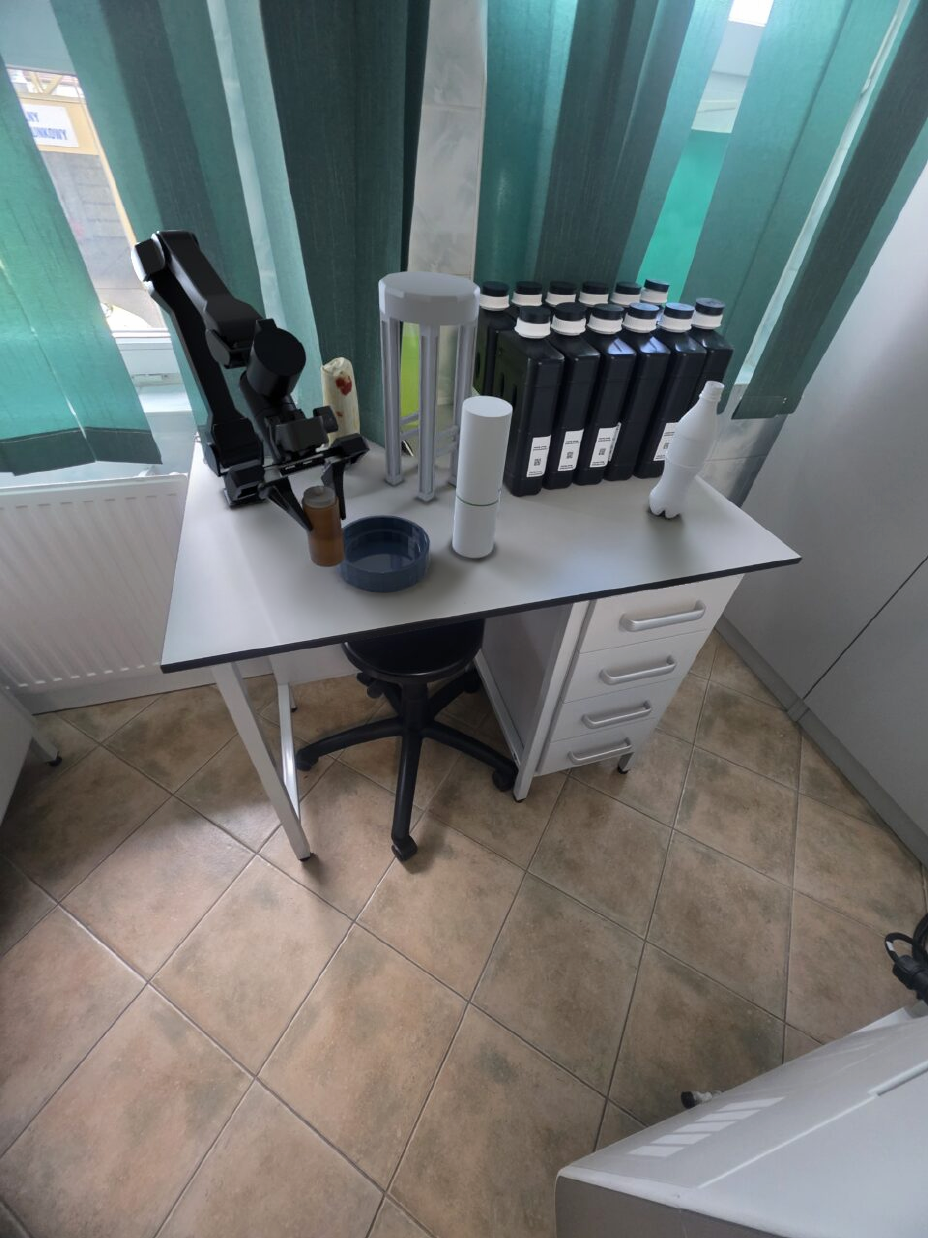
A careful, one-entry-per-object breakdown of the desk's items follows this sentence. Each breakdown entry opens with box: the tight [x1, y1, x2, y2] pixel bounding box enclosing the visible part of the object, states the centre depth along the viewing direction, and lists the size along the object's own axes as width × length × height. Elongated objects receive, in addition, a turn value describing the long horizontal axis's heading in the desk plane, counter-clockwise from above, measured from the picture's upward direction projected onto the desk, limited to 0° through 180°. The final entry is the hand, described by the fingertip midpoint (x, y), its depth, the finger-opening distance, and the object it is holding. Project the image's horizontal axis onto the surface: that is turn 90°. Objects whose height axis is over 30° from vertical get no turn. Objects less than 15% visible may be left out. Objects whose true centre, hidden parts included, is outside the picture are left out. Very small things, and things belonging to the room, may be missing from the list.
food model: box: [319, 356, 361, 468], centre depth 100 cm, size 10×7×20 cm
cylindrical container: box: [452, 395, 513, 559], centre depth 81 cm, size 7×7×25 cm
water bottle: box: [648, 380, 725, 519], centre depth 94 cm, size 7×7×25 cm
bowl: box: [336, 514, 431, 593], centre depth 83 cm, size 15×15×4 cm
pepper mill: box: [300, 484, 345, 568], centre depth 70 cm, size 5×5×12 cm
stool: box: [378, 270, 481, 502], centre depth 92 cm, size 16×16×35 cm
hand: (327, 525), depth 69 cm, fingers closed on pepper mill, 5 cm apart
